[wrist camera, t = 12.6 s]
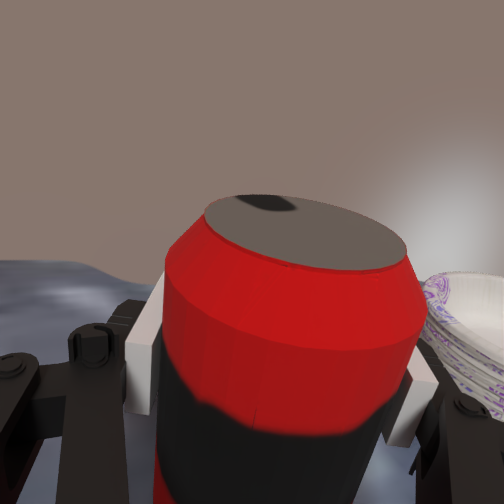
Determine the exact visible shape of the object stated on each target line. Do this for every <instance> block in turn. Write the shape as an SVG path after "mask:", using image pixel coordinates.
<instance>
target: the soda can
mask: <svg viewBox="0 0 504 504" xmlns="http://www.w3.org/2000/svg"><path fill="white" fill-rule="evenodd" d="M427 313H428V308H427V302H426V298H425V295H424V293H423V291H422V288H421V286H420V284H419V282H418V279H417V277H416V275H415V272H414V270H413V268H412V265H411V263H410V261H409V258H408V256H407V249H406V245H405V243H404V242H403V240H402V239H401V238H400V237H399V236H398V235H397V234H396V233H395V232H393V231H392V230H390V229H389V228H387V227H386V226H384V225H382V224H380V223H378V222H376V221H374V220H372V219H370V218H368V217H366V216H363V215H361V214H358V213H356V212H352V211H350V210H347V209H344V208H340V207H337V206H333V205H330V204H326V203H321V202H317V201H312V200H307V199H301V198H294V197H287V196H277V195H238V196H232V197H226V198H223V199H219V200H217V201H215V202H213V203H211V204H209V206H208V207H207V208H206V209H205V212H204V214H203V215H202V216H201V217H200V218H199V219H198V220H197V221H196V222H195V223H194V224H193V225H192V226H191V227H190V228H189V229H188V230H187V231H186V232H185V233H184V234H183V235H182V236H181V237H180V238H179V239H178V240H177V241H176V242H175V243H174V244H173V245H172V246H171V247H170V249H169V251H168V253H167V256H166V259H165V273H164V293H163V312H162V332H161V351H160V371H159V390H158V410H157V429H156V449H155V469H154V488H153V504H352V503H353V501H354V498H355V496H356V493H357V491H358V488H359V486H360V483H361V481H362V478H363V476H364V473H365V471H366V468H367V466H368V463H369V461H370V458H371V456H372V453H373V451H374V448H375V446H376V443H377V441H378V438H379V436H380V433H381V431H382V428H383V426H384V423H385V421H386V418H387V416H388V413H389V411H390V408H391V406H392V403H393V401H394V398H395V396H396V393H397V391H398V388H399V386H400V383H401V381H402V378H403V376H404V373H405V371H406V368H407V366H408V363H409V361H410V358H411V356H412V353H413V351H414V348H415V346H416V343H417V341H418V338H419V336H420V333H421V331H422V328H423V326H424V323H425V320H426V316H427Z"/></svg>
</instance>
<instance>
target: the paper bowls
mask: <svg viewBox="0 0 504 504" xmlns="http://www.w3.org/2000/svg"><path fill="white" fill-rule="evenodd" d="M421 288H422V291H423V293H424V295H425V298H426V302H427V308H428V313H427V316H426V320H425V323H424V326H423V328H422V331H421V333H420V336H419V338H422V339H423V340H424V341H425V342H426V343H427V344H429V345H430V346H431V347H432V348H433V350H434V351H435V353H436V354H437V356H438V359H440V360H441V362H442V363H443V365H444V367H445V368H446V369H447V371H448V372H449V374H450V375H451V377H452V378H453V380H454V381H455V383H456V384H457V386H458V388H459V389H460V391H461V392H462V393H465V394H467V395H469V396H472V397H474V398H475V399H477V400H478V401H479V402H481V403H482V404H483V405H484V406H485V407H486V408H487V409H488V410H489V412H490V414H491V416H492V418H494V419H497V420H500V421H502V422H504V277H500V276H496V275H491V274H484V273H476V272H445V273H440V274H437V275H434V276H432V277H430V278H429V279H427V280H426V281H425V282H424V284H423V285H422V287H421Z"/></svg>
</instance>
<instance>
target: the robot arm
mask: <svg viewBox="0 0 504 504" xmlns="http://www.w3.org/2000/svg"><path fill="white" fill-rule="evenodd" d="M164 273H165V270H164V272H163V274H162V276H161V277H160V279H159V281H158V283H157V285H156V286H155V288H154V290H153V292H152V294H151V295H150V297H149V299H148V301H147V302H145V301H137V300H130V299H128V300H126V301H125V302H123V303H122V304H120V305H118V306H117V308H116V309H115V311H114V312H113V314H112V316H111V317H110V318H109V320H108V321H107V323H106V324H105V323H92V324H86V325H83V326H81V327H79V328H76V329H75V330H74V331H73V332H72V333H71V334H70V336H69V338H68V349H69V361H68V362H65V363H59V364H50V365H40V366H39V362H38V360H37V358H36V357H35V356H33V355H31V354H28V353H22V352H21V353H11V354H7V355H4V356H0V504H16V502H17V500H18V498H19V495H20V493H21V491H22V489H23V486H24V484H25V482H26V480H27V477H28V475H29V473H30V471H31V468H32V466H33V464H34V462H35V459H36V457H37V455H38V453H39V450H40V448H41V446H42V444H43V441H44V439H47V438H53V437H59V436H62V444H61V454H60V464H59V474H58V484H57V494H56V504H129V493H128V478H127V464H126V449H125V435H124V420H123V404H124V401H125V412H126V413H134V414H142V415H149V414H150V412H151V409H152V406H153V403H154V400H155V397H156V394H157V392H158V389H159V371H160V351H161V332H162V312H163V293H164ZM381 432H382V434H383V437H384V440H385V443H386V445H390V446H398V447H406V448H410V445H411V443H412V441H413V439H414V437H415V435H416V437H417V439H418V441H419V443H420V446H421V447H420V449H419V451H418V453H417V455H416V457H415V459H414V462H413V464H412V466H411V468H410V471H409V474H410V475H413V473H414V471H415V470H416V504H504V422H502V421H500V420H497V419H494V418H492V416H491V414H490V412H489V410H488V409H487V408H486V407H485V406H484V405H483V404H482V403H481V402H479V401H478V400H477V399H475V398H474V397H472V396H469V395H467V394H465V393H462V392H461V391H460V389H459V388H458V386H457V384H456V383H455V381H454V380H453V378H452V377H451V375H450V374H449V372H448V371H447V369H446V368H445V367H444V365H443V363H442V362H441V360H440V359H438V356H437V354H436V353H435V351H434V350H433V348H432V347H431V346H430V345H429V344H427V343H426V342H425V341H424V340H423V339H422V338H418V341H417V343H416V346H415V348H414V351H413V353H412V356H411V358H410V361H409V363H408V366H407V368H406V371H405V373H404V376H403V378H402V381H401V383H400V386H399V388H398V391H397V393H396V396H395V398H394V401H393V403H392V406H391V408H390V411H389V413H388V416H387V418H386V421H385V423H384V426H383V428H382V431H381Z"/></svg>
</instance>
